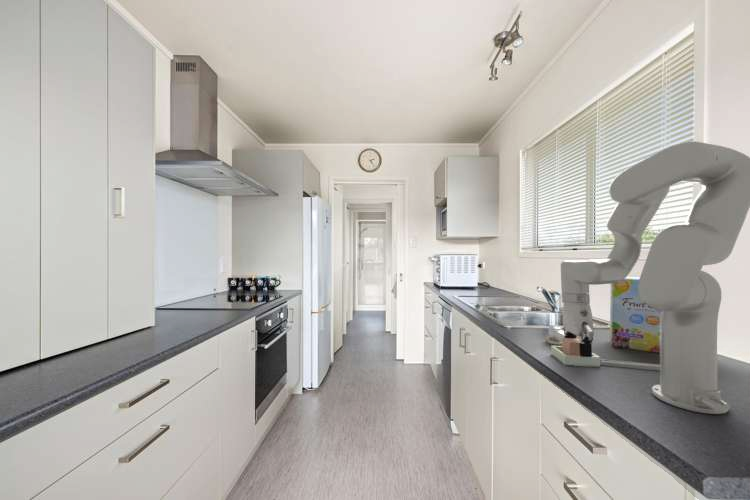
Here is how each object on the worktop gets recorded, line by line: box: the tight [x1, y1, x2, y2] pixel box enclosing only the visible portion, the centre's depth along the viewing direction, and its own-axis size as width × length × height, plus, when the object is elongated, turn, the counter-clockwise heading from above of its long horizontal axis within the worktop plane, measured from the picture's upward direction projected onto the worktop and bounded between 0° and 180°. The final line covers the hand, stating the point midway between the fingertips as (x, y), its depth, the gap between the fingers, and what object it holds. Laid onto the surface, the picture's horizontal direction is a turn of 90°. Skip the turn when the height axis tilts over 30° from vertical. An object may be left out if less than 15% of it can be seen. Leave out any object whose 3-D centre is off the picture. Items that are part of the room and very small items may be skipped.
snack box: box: [609, 276, 662, 354], centre depth 109 cm, size 22×9×26 cm, turn 57°
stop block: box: [561, 338, 581, 356], centre depth 98 cm, size 5×5×6 cm
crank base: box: [545, 337, 562, 346], centre depth 117 cm, size 6×6×1 cm
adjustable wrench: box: [600, 358, 660, 372], centre depth 93 cm, size 25×6×2 cm, turn 65°
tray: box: [550, 345, 601, 368], centre depth 98 cm, size 10×10×3 cm
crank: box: [548, 325, 578, 342], centre depth 111 cm, size 16×4×7 cm, turn 173°
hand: (577, 351), depth 97 cm, fingers open, 9 cm apart
